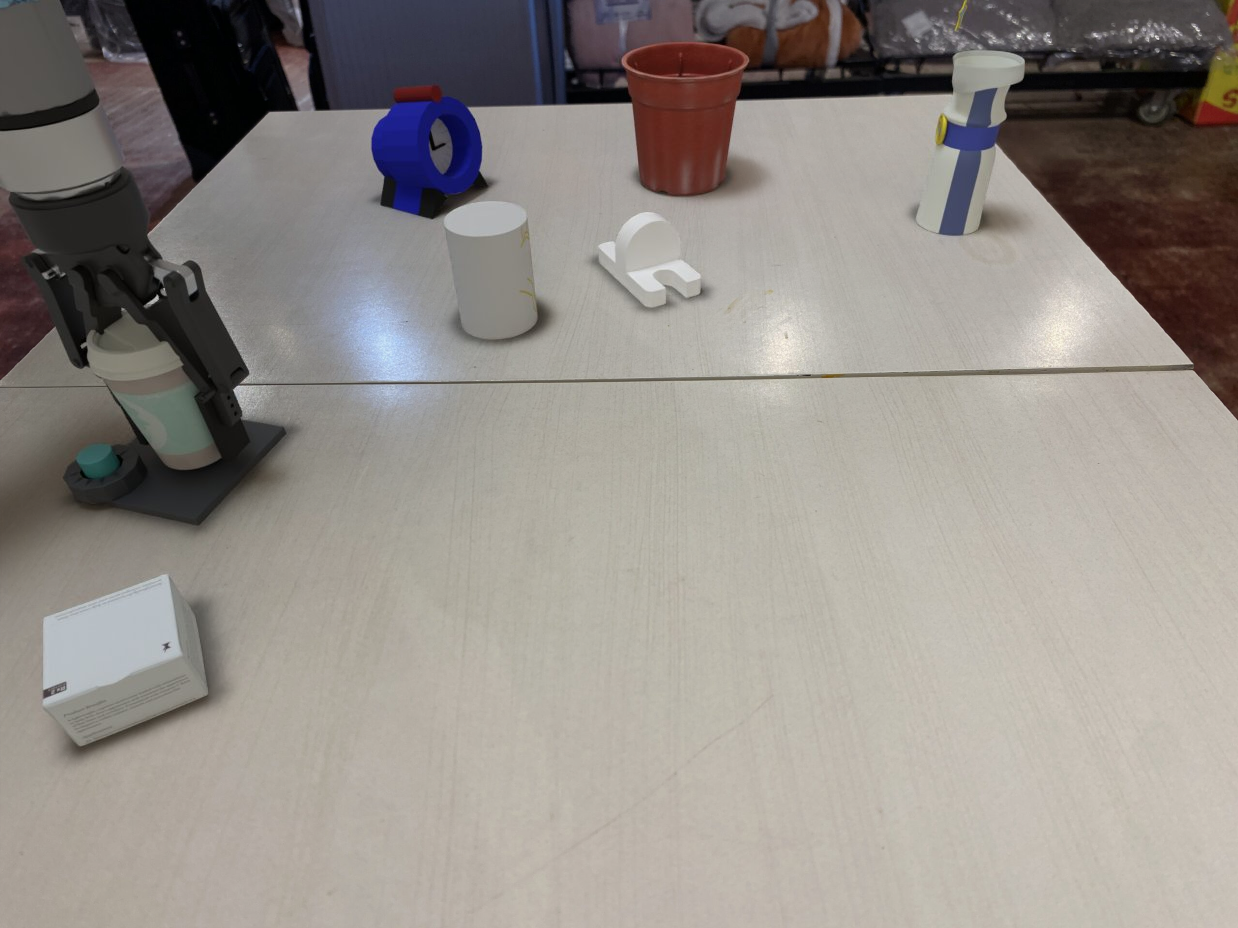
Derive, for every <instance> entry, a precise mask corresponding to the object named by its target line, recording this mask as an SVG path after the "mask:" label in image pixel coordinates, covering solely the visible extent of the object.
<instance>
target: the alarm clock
mask: <svg viewBox="0 0 1238 928" xmlns="http://www.w3.org/2000/svg"><path fill="white" fill-rule="evenodd" d="M392 97H393V100H394V102H395V104H393V105H392V106H391V107H390V109H389V111H388V112H387V114H386V115H385V116H383V117H381V118H380V119H379V120H378V121H377V123H376V124H375V126H374V128H373V131H372V134H371V140H370V141H371V143H370V144H371V146H370V147H371V155H372V158H373V162H374V164H375V166H376V168H377V170H378V171H379V172H380V173H381V175H382V176H383V183H382V191H381V196H380V197H381V198H380V206H383V207H386V208H389V209H394V210H397V211H401V212H405V213H409V214H411V215H416V216H419V217H423V218H427V219H430V220H433V219H434V218H435V217H436V216H437V214H438V212H439V211H440V210H441V209H442V207H443V206H444V205H445V203H446V202H447V200H449V196H447V195H457V194H461V193H464V192H466V190H468V189H469V188H470V187H472V186H476V187H486V188H487V187H488V188H489V187H490V186H489V184H488V183H487V181H486V179H485V178H484V176H483V174H482V173H481V171H480V169H481V166H482V162H483V141H482V135H481V130H480V128H479V125H478V123H477V121H476V118H475V117H474V114H472V112H471V110H470V109H469V108H468V107H467V106H466V105H465V104H464V103H463V102H462V101H460V100H459V99H457V98H455V97H451V96H447V95H446V96H443V91H442V89H441V88H440V86H439V85H437V84H434V85H433V84H431V85H417V86H405V87H396V88H394V90H393V93H392Z"/></svg>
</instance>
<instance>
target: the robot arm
mask: <svg viewBox="0 0 1238 928" xmlns="http://www.w3.org/2000/svg"><path fill="white" fill-rule="evenodd" d="M76 39H77V38H76V37H75V34H74V32H73V30H72V27H71V24H70V22H69V20H68V17H67V15H66V12H65V10H64V8H63V5H62V3H61V0H0V187H1V188H2V189H4V190H6V191H8V192H9V196H8V203H9V205H10V207H11V208H12V210H13V212H14V214H15V216H16V218H17V220H18V221H19V223H20V225H21V227H22V230H23V231H24V233H25V234H26V236H27V238H28V240H29V242H30V243H31V244H32V246H33V247H35V248H36V249H33V250H32V251H30V252H29V253H27V254H25V255H22V257H20V262H21V265H22V266H23V267H24V268H25V270H26V271H27V273H28V274H29V276H30V277H31V279H32V280H33V281H34V283H35V284H36V285H37V287H38V289H39V292H40V293H41V294H40V295H41V297H42V299H43V301H44V304H45V306H46V309H47V311H48V313H49V315H50V317H51V320H52V322H53V325H54V327H55V330H56V331H57V335H58V336H59V339H60V341H61V343H62V345H63V348H64V350H65V352H66V355H67V358H68V360H69V361H70V363H71V365H72V366H74V367H75V368H77V369H78V370H82V369H84V368H89V369H90V365H89V361H88V359H87V353H88V348H87V342H86V339H87V336H88V334H89V332H90V331H91V330H95V331H96V332H97V333H99V334H100V335H103V334H104V330H105V329H106V328H107V327H109V326H110V325H112V324H113V323H115V322H116V321H117V320H119V319H120V318H122V311H123V310H126V311H127V312H128V313H129V314H130V316H131V317H132V318H133V319H134V321H135V322H136V323H138V324H141V325H146V326H147V327H148V328H149V329H150V331H151V332H152V333H153V334H154V335H155V337H156V338H157V339H158V340H159V342H162V341H165V342H168V343H169V345H170V346H171V348H172V349H173V351H174V352H175V353H176V355H177V356H179V357H180V360H181V362H182V363H183V364H184V365H183V366H182V369H183V371H184V372H185V373H186V375H187V376H188V377H189V378H190V380H191V381H192V382H193V383H194V384H195V386H196V387H197V388H198V389H199V391H200V392H199V393H198V394H196V395H195V396H194V399H195V401H196V403H197V405H198V407H199V409H200V412H201V414H202V416H203V418H204V420H205V422H206V425H207V427H208V429H209V431H210V433H211V436H212V438H213V440H214V442H215V444H216V446H217V449H218V451H219V453H220V455H221V457H222V459H223V460H224V461H229V462H231V461H232V460H233V459H234V458H235V457H236V456H237V455H238V454H239V453H240V452H241V451H242V450H243V449H244V448H245V447H246V446H247V445H248V444H249V443H250V439H249V437H248V434H247V432H246V430H245V427H244V425H243V423H242V420H243V419H242V417H243V409H242V408H241V404H240V403H239V400H238V398H237V395H236V393H235V391H234V390H235V389H236V388H237V387H238V386H239V385H240V384H241V383H242V382H243V381H244V380H245V379H247V378H248V377H249V376H250V370H249V368H248V366H247V364H246V363H245V360H244V358H243V357H242V355H241V353H240V351H239V349H238V348H237V345H236V344H235V342H234V340H233V338H232V336H231V335H230V332H229V331H228V329H227V327H226V325H225V323H224V322H223V319H222V318H221V316H220V314H219V312H218V310H217V309H216V307H215V304H214V302H213V301H212V299H211V297H210V296H209V293H208V291H207V289H206V285H205V280H204V276H203V275H204V274H203V272H202V269H201V266H200V265H199V264H198V263H197V262H196V261H194V260H192V259H189V260H186V261H185V262H183V263H182V264H177V263H173V262H170V261H168V260H164V258H163V256H162V255H161V253H160V251H158V249H156V247H155V246H154V245H153V243H152V242H151V241H150V239H149V236H148V233H149V232H148V231H149V224H150V221H151V215H150V211H149V209H148V206H147V204H146V202H145V200H144V197H143V195H142V192H141V190H140V187H139V185H138V183H137V181H136V178H135V175H134V174H133V172H132V171H131V170H129V169H127V168H126V167H124V166H123V165H124V163H125V162H126V158H125V154H124V151H123V150H122V147H121V145H120V142H119V140H118V138H117V135H116V133H115V130H114V129H113V126H112V124H111V121H110V120H109V117H108V115H107V112H106V110H105V108H104V105H103V103H102V101H101V99H100V97H99V93H98V91H97V90H96V85H95V83H94V80H93V78H92V75H91V73H90V70H89V68H88V66H87V63H86V61H85V59H84V56H83V53H82V51H81V49H80V46H79V43H78V41H77V40H76ZM156 297H158V300H156V301H154V302H153V303H151V302H152V301H153V300H154V299H155V298H156ZM150 303H151V304H152V305H151V306H149V307H148V308H145V307H144V305H146V304H150ZM85 343H86V345H85V346H83V347H82V345H84V344H85ZM93 374H94V375H95V376H96V377H97V378H99V379H102V380H103V378H102V377H99V376H98V375H96V374H95V373H93ZM209 375H210V377H209V378H208V376H209ZM103 382H104V384H105V387H106V388H107V389H108V391H109V393H110V395H111V397H112V398H113V401H114V402H115V403H116V404H117V405H118V407H120V409H121V411H122V413H123V415H124V417H125V418H126V421H127V422H128V424H129V426H130V428H131V429H132V431H133V433H134V435H135V438H136V437H137V439H138V441H139V442H140V444H143V445H149V442H148V441H147V439H146V438H145V437H144V435H143V434H142V432H141V431H140V430H139V428H138V427H137V426H136V424H135V423H134V421H133V420H132V419H131V417H130V416H129V414H128V413H127V412H126V410H125V409H124V408H123V406H122V405H121V403H120V402H119V401H118V399H117V398H116V396H115V395H114V394H113V392H112V391H111V390H110V388H109V387H108V385H107V384H106V383H105V381H104V380H103ZM241 419H242V420H241Z"/></svg>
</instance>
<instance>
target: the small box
mask: <svg viewBox="0 0 1238 928" xmlns="http://www.w3.org/2000/svg"><path fill="white" fill-rule="evenodd" d="M201 645H202V644H201V639H200V633H199V627H198V623H197V619H196V615H195V613H194V611H193V610H192V609H191V607H190V606H189V604H188V603H187V601H186V600H185V598H184V596H183V594H182V593H181V592H180V590H179V588H178V586H177V585H176V583H175V581H174V580H173V579H172V577H171V576H170V574H169V573H163V574H161V575H159V576H155V577H153V578H151V579H149V580H145V581H143V582H140V583H137V584H133V585H132V586H129V587H126V588H123V589H119V590H118V591H115V592H112V593H109V594H107V595H106V594H105V595H103V596H101V597H97V598H95V599H92V600H90V601H87V602H84V603H81V604H78V605H75V606H73V607H70V608H67V609H64V610H61V611H59V612H56V613H53V614H50V615H47V616H44V617H43V620H42V700H41V703H42V705H41V708H42V710H43V711H44V712H45V713H46V714H47V715H49V717H50V718H52V720H54V721H55V723H56V724H57V725H58V726H59V727H60V728H61V729H62V730H63V731H64V732H65V733H66V734H67V736H69V737H70V739H71V740H72V741H73V742H74V743H75V744H76V745H77V746H78V747H83V746H86V745H88V744H91V743H94V742H97V741H99V740H102V739H104V738H107V737H109V736H112V735H114V734H117V733H119V732H122V731H124V730H126V729H130V728H132V727H134V726H137V725H139V724H142V723H144V722H147V721H149V720H151V719H153V718H156V717H158V716H161V715H163V714H166V713H169V712H170V711H174V710H175V709H178V708H181V707H183V706H185V705H187V704H190V703H192V702H195V701H197V700H199V699H201V698H204V697H206V696H208V695H209V689H208V683H207V676H206V670H205V663H204V657H203V651H202V646H201Z"/></svg>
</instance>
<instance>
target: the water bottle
mask: <svg viewBox="0 0 1238 928" xmlns="http://www.w3.org/2000/svg"><path fill="white" fill-rule="evenodd" d="M967 2H968V0H964V1H963V4H962V7H961V9H960V10H959V11H958V19H957V22H956V25H955V28H954V32H957V30H958V28H961V26H962V23H963V18H964V15H965V13H966V11H967V10H968V9H967V8H968V5H967ZM952 65H953V71H952V79H951V83H952V88H953V92H952V96H951V97H950V100H949V103H948V104H947V105H946V106H945V107H944V109H943V110H942V113H941V114H940V115H939V117H938V121H937V125H936V130H935V144H936V145H935V147H934V149H933V153H932V156H931V160H930V164H929V169H928V172H927V175H926V176H927V177H926V181H925V185H924V188H923V192H922V196H921V199H920V203H919V205H918V210H917V213H916V216H915V222H916V223H917V225H918V226H920V227H921V228H922V229H924V230H926V231H929V232H931V233H934V234H940V235H945V236H964V235H968V234H972V233H974V232H976V231H977V230H978V229H979V228H980V224H981V220H982V214H983V209H984V205H985V200H986V196H987V192H988V188H989V184H990V181H991V177H992V173H993V169H994V166H995V162H996V156H997V148H996V142H997V138H998V135H999V131H1000V127H1001V124H1002V123H1003V122H1004V121H1006V119H1007V117H1008V116H1007V112H1006V109H1005V101H1006V97H1007V95H1008V91H1009V90H1010V87H1011V85H1015V84H1018V83H1020V82H1022V81H1023V79H1024V77H1025V69H1026V67H1025V66H1026V61H1025V58H1023V57H1022V56H1020V55H1018V54H1016V53H1012V52H1009V51H1008V52H1007V51H1002V50H983V49H979V50H977V49H975V50H965V51H960V52H957V53H955V54H954V55H952Z"/></svg>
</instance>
